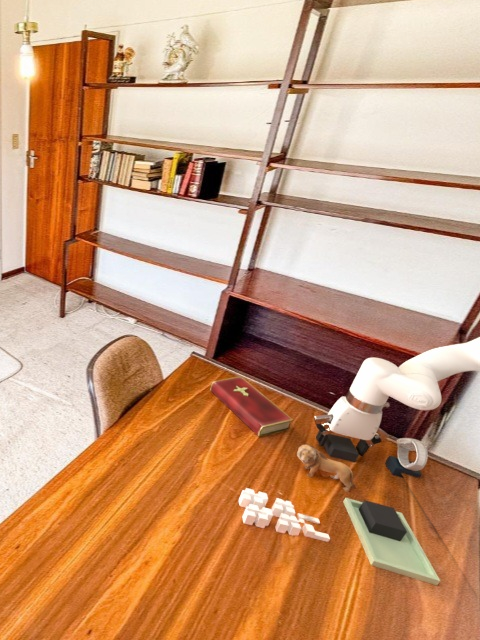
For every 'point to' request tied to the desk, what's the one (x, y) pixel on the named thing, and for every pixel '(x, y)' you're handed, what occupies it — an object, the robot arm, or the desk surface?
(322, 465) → the lion figurine
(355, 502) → the pale green flat tray
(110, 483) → the desk surface
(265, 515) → the modular blocks
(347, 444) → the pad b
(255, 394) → the hardcover book
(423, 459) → the watch
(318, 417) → the robot arm
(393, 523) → the black square block
